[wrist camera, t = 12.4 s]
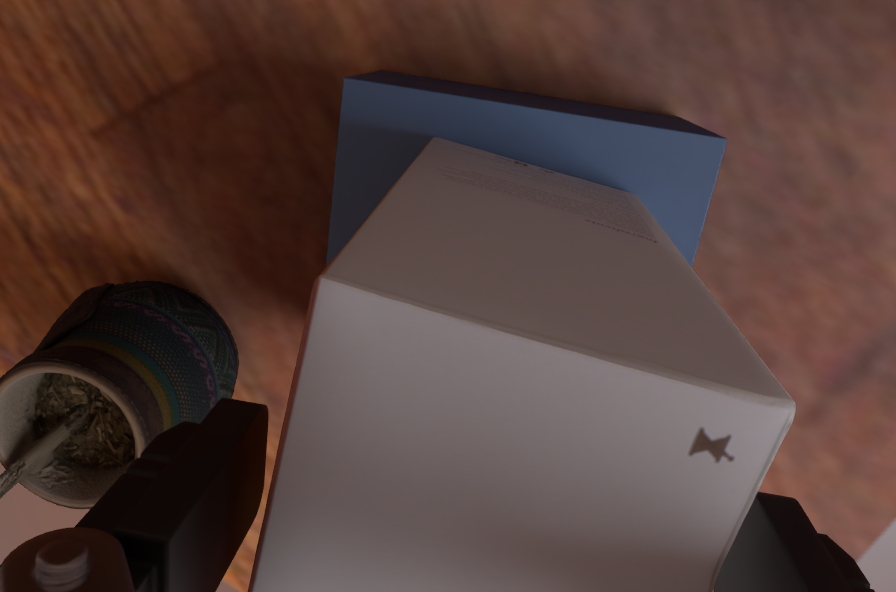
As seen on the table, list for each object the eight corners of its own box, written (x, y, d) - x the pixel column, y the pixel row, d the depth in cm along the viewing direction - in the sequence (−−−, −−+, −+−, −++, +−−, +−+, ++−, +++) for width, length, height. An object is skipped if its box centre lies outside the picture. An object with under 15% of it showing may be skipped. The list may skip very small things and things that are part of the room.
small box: (430, 132, 21) (311, 260, 9) (641, 191, 21) (821, 405, 9) (368, 374, 24) (211, 733, 11) (555, 427, 24) (598, 841, 11)
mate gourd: (292, 339, 30) (191, 475, 21) (193, 452, 32) (62, 620, 23) (151, 226, 29) (-23, 314, 20) (59, 351, 31) (-136, 485, 22)
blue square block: (380, 69, 26) (342, 76, 21) (681, 117, 26) (728, 138, 20) (350, 343, 30) (311, 413, 24) (612, 389, 30) (635, 470, 24)
